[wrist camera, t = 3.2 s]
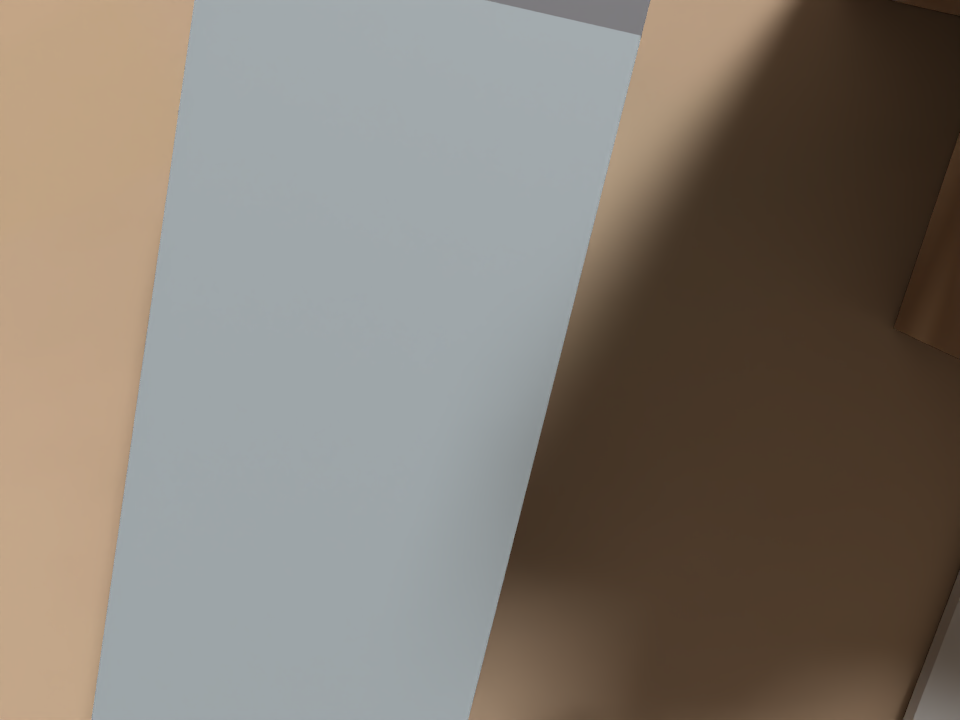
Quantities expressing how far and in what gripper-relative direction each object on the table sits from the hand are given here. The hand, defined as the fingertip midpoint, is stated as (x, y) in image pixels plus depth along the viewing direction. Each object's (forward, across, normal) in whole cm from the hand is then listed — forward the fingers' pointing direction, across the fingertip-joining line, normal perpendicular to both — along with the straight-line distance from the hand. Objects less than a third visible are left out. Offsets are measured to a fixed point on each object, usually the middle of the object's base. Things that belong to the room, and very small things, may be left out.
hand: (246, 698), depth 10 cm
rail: (+7, 0, 0) cm, 7 cm away
